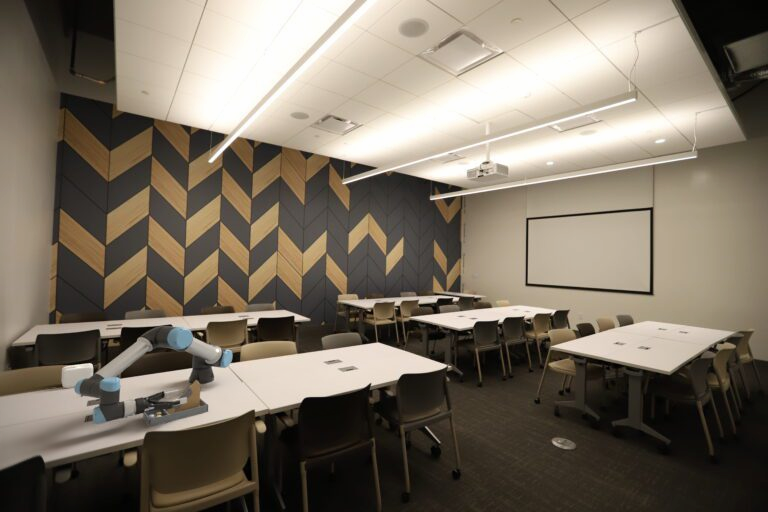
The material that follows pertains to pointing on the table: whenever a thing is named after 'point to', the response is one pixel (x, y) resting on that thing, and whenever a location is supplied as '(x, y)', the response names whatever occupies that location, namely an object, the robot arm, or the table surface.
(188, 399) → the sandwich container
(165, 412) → the parts tub
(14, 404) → the table surface
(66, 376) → the cable organizer
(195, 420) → the table surface
